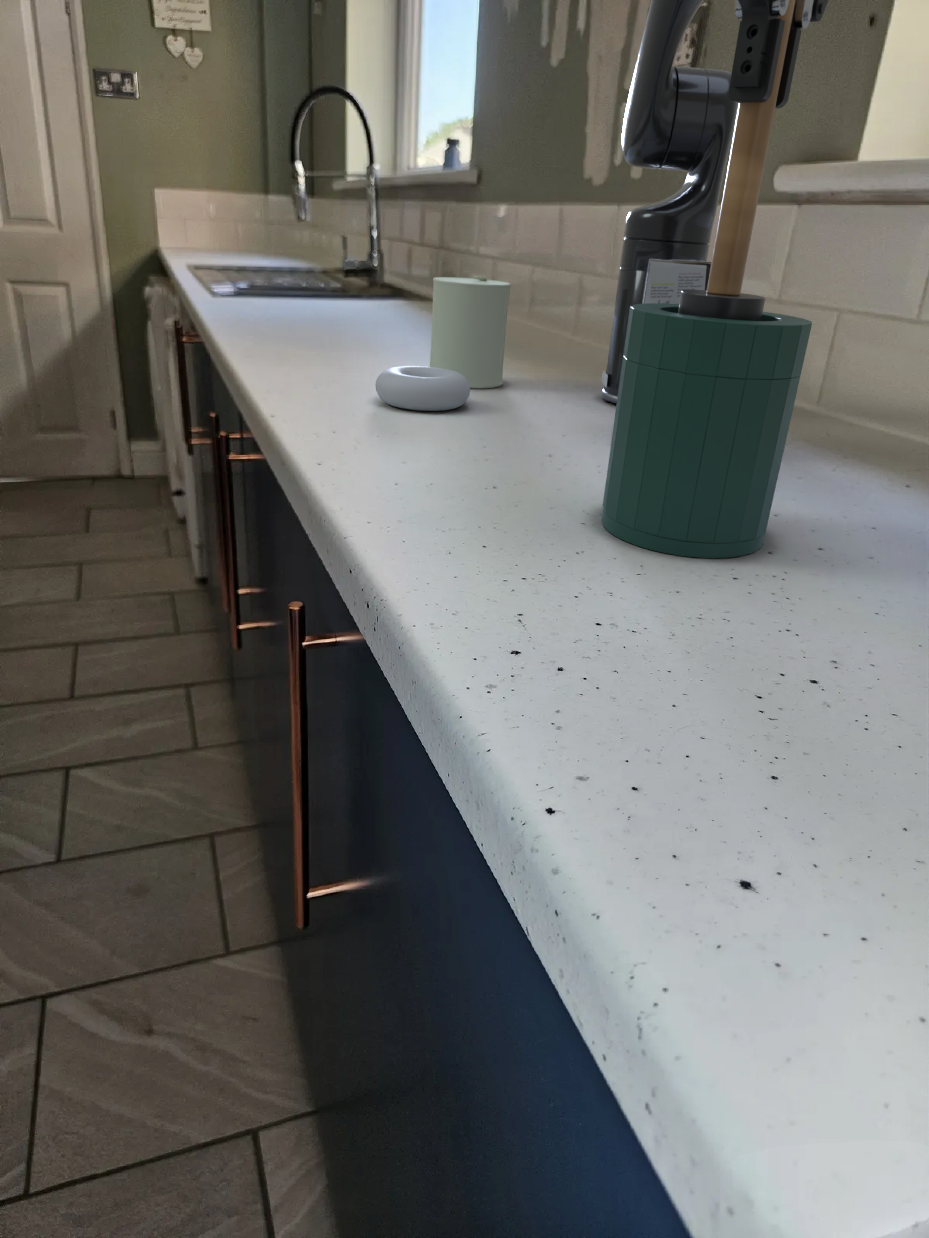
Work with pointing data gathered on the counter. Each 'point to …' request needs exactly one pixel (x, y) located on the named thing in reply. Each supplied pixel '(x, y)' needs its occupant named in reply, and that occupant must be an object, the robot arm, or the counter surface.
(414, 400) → the donut
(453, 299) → the can
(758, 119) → the brush
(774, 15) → the robot arm
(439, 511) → the counter surface
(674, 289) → the coffee box
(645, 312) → the green utensil holder
